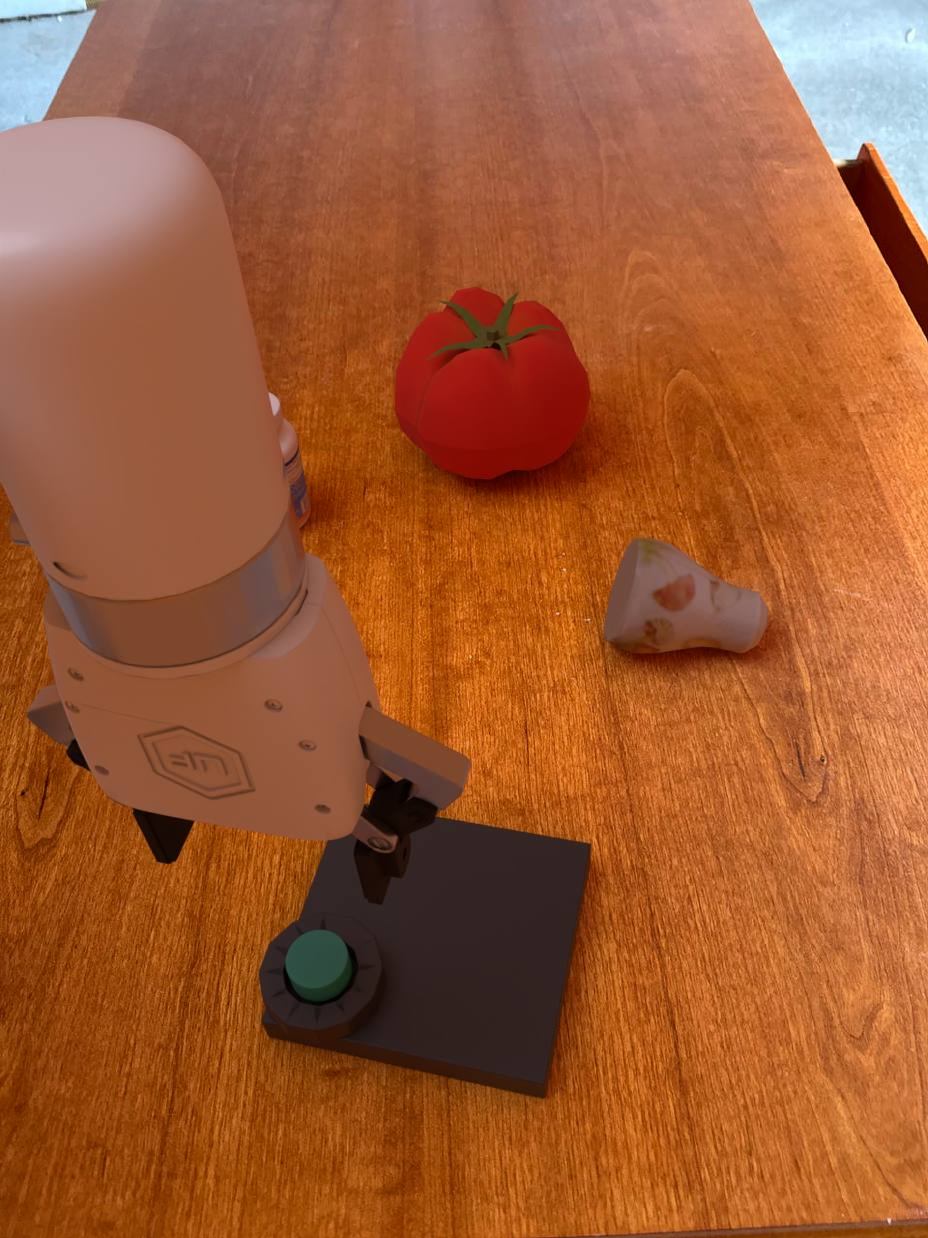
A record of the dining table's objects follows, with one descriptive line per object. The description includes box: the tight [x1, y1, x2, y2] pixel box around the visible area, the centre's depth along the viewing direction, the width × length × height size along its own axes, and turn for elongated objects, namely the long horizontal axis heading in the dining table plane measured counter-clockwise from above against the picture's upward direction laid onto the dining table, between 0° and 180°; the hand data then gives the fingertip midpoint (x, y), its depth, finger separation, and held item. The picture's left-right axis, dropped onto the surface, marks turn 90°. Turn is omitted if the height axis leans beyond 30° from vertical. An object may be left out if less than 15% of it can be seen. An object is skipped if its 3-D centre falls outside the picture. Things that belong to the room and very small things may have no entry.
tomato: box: [394, 285, 592, 481], centre depth 82 cm, size 13×14×12 cm
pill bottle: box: [268, 391, 312, 529], centre depth 79 cm, size 5×5×10 cm
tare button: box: [286, 930, 352, 1002], centre depth 55 cm, size 3×3×2 cm
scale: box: [257, 803, 592, 1100], centre depth 58 cm, size 14×13×4 cm
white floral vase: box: [603, 537, 769, 654], centre depth 71 cm, size 8×10×10 cm
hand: (280, 852), depth 47 cm, fingers open, 8 cm apart
